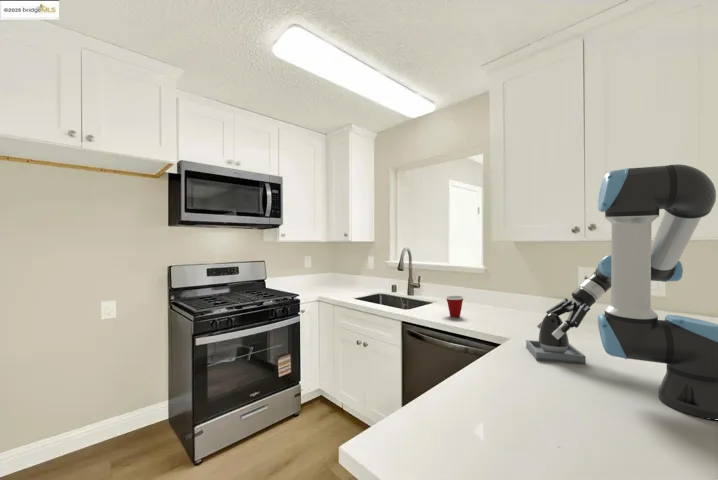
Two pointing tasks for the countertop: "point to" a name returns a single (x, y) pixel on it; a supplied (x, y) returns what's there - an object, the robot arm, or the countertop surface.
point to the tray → (555, 354)
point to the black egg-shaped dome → (548, 339)
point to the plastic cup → (454, 305)
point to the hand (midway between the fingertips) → (546, 332)
